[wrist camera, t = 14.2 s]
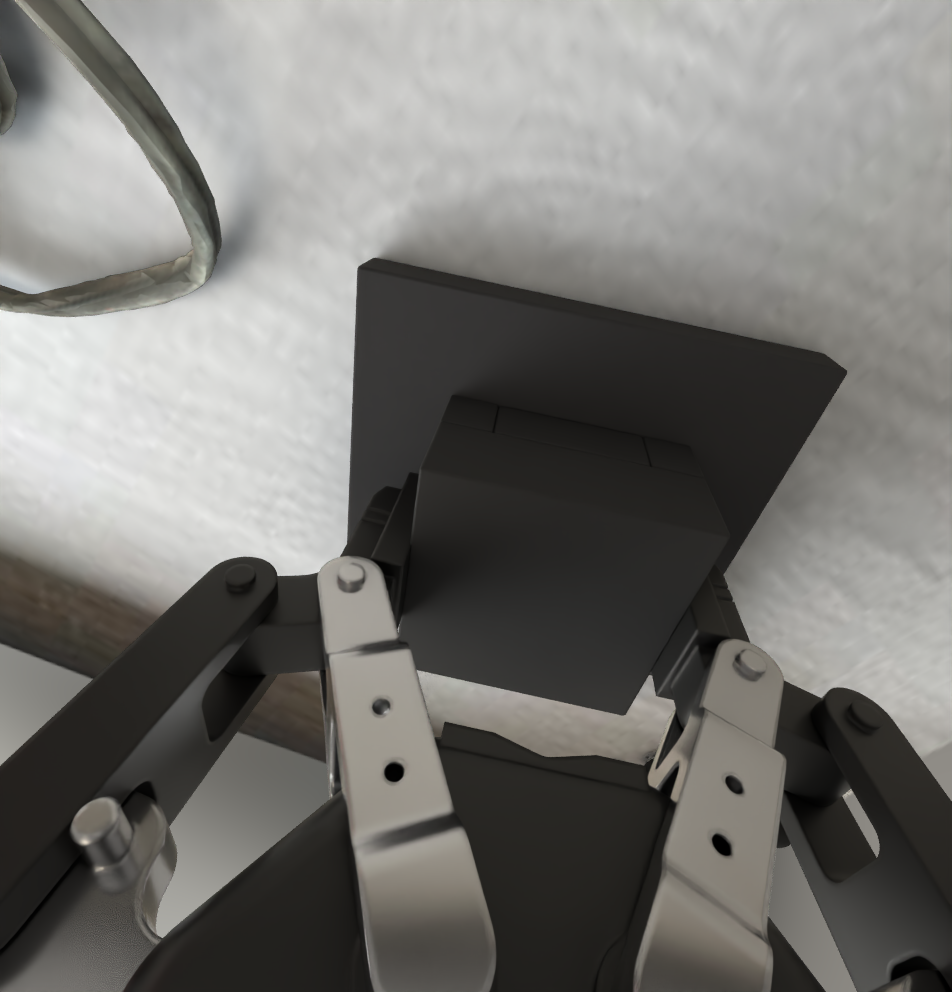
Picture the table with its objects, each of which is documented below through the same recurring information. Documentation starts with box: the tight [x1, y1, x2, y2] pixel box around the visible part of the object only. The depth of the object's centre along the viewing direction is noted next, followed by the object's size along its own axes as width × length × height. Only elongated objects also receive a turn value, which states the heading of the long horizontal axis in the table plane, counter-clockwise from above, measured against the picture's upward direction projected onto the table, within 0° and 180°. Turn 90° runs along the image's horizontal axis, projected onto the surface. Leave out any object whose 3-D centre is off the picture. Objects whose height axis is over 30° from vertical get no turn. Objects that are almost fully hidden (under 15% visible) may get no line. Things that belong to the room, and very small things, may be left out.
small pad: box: [398, 395, 730, 715], centre depth 13 cm, size 6×6×4 cm
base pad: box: [347, 258, 847, 675], centre depth 14 cm, size 11×11×3 cm
